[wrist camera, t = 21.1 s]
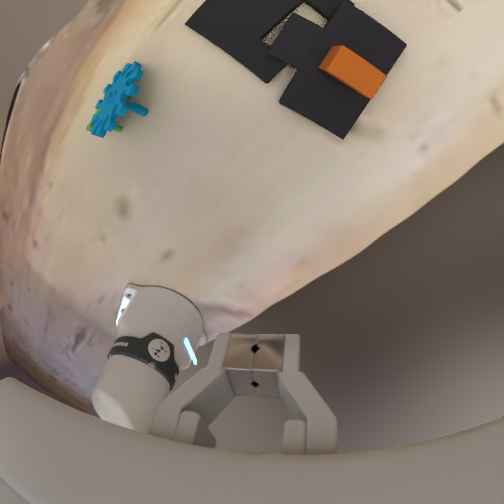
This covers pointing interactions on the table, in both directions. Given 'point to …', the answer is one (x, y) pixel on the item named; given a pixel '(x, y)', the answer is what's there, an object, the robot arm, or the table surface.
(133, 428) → the robot arm
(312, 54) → the pad
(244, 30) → the socket pad
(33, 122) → the table surface
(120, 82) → the gear
